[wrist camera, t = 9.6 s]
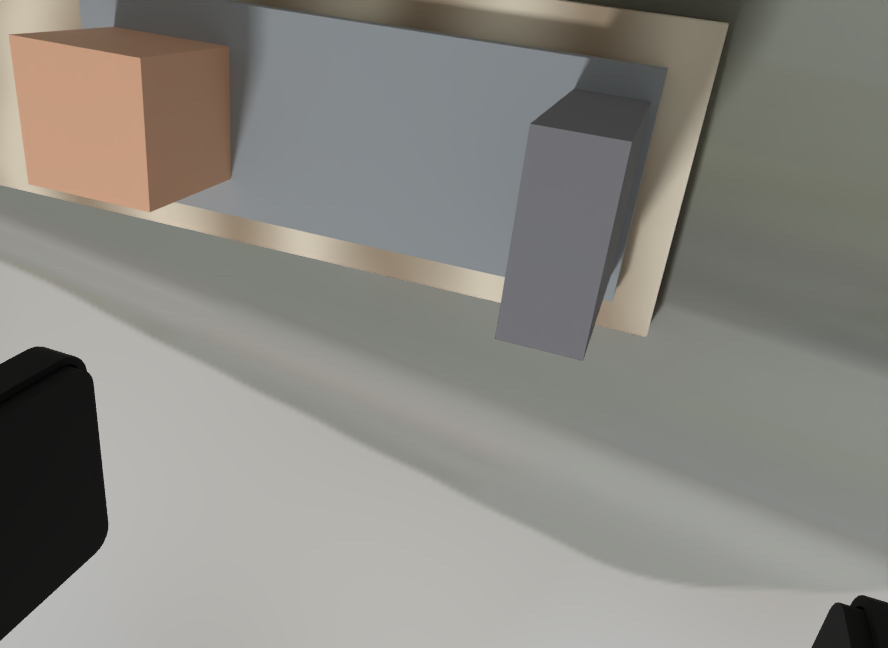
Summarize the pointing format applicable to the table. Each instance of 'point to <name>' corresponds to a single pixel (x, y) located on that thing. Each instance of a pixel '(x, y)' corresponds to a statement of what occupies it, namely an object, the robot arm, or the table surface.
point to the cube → (123, 114)
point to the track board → (478, 16)
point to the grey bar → (430, 148)
